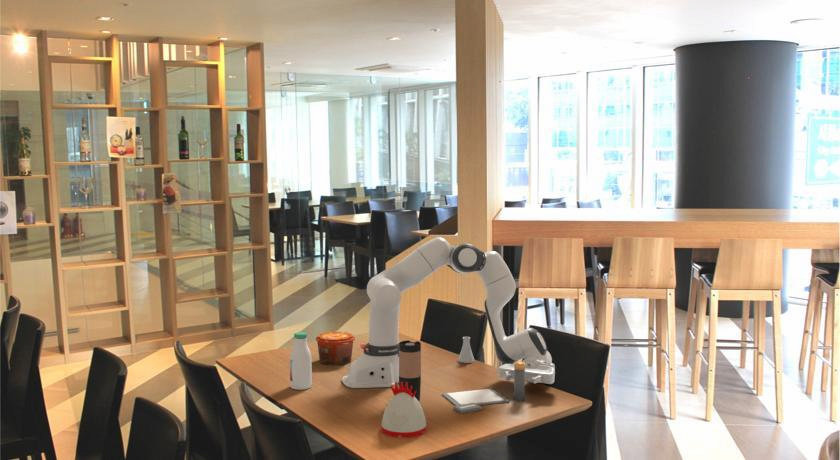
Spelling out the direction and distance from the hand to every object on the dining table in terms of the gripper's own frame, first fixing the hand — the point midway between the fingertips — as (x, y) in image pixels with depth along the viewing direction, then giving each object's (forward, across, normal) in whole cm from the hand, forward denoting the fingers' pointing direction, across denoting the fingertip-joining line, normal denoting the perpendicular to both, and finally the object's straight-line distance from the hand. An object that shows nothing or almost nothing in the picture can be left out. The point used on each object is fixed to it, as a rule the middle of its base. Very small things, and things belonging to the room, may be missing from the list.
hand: (520, 379), depth 266 cm
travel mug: (+17, -34, +7) cm, 39 cm away
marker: (+1, 0, +7) cm, 7 cm away
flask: (-38, -34, +7) cm, 52 cm away
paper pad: (+6, -14, +7) cm, 17 cm away
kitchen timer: (+44, -23, +7) cm, 51 cm away
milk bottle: (+22, -76, +7) cm, 79 cm away
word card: (+18, -12, +7) cm, 23 cm away
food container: (-15, -83, +7) cm, 85 cm away
